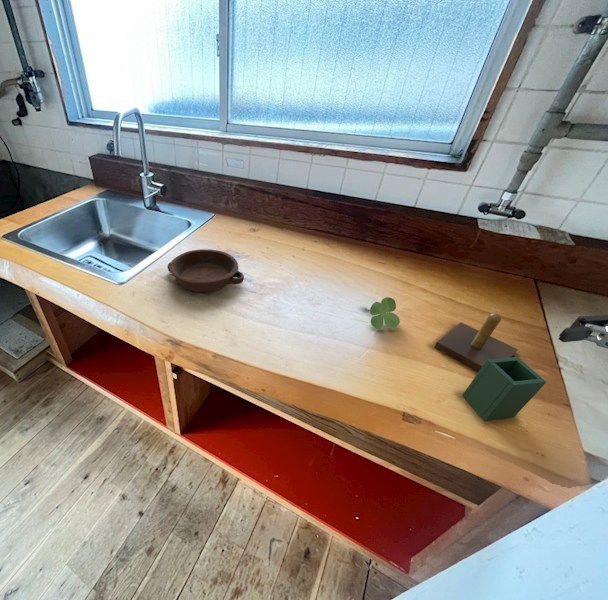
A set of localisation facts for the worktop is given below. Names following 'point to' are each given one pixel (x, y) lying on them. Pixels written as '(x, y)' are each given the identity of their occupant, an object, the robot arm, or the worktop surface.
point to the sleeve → (502, 388)
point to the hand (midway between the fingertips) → (591, 355)
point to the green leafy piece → (384, 314)
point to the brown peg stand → (475, 343)
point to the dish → (205, 270)
